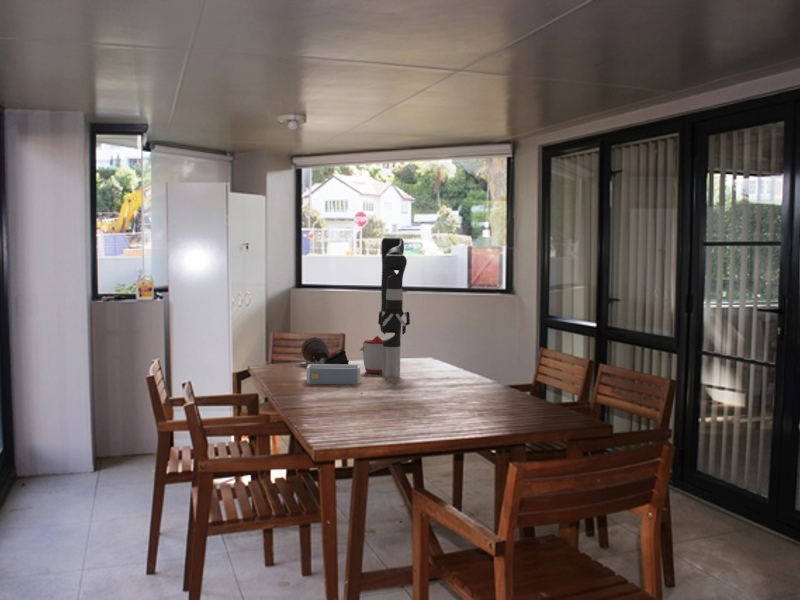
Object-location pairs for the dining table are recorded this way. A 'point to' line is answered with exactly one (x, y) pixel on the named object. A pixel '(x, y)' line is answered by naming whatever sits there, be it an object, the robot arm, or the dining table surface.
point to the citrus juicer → (373, 355)
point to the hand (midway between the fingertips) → (393, 334)
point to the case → (332, 367)
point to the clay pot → (314, 351)
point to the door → (333, 375)
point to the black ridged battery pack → (337, 358)
